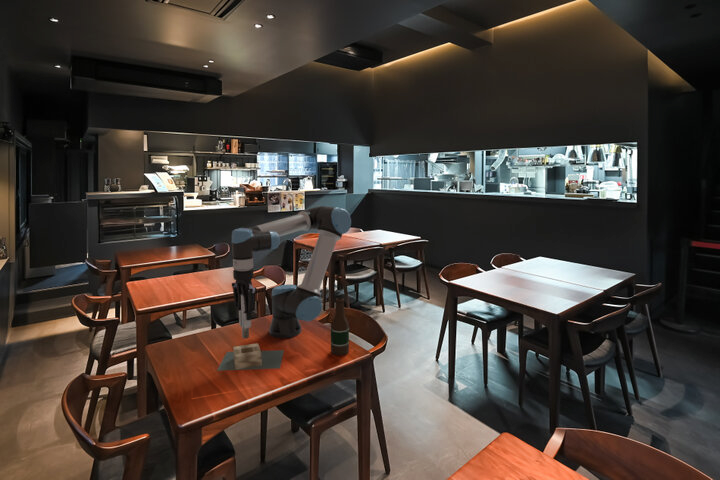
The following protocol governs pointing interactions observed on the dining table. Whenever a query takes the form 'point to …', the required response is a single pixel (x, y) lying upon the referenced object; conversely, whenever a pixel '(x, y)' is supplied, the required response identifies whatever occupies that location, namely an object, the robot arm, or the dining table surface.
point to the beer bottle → (339, 330)
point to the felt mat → (268, 362)
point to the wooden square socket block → (247, 356)
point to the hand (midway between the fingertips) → (245, 326)
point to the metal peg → (244, 331)
